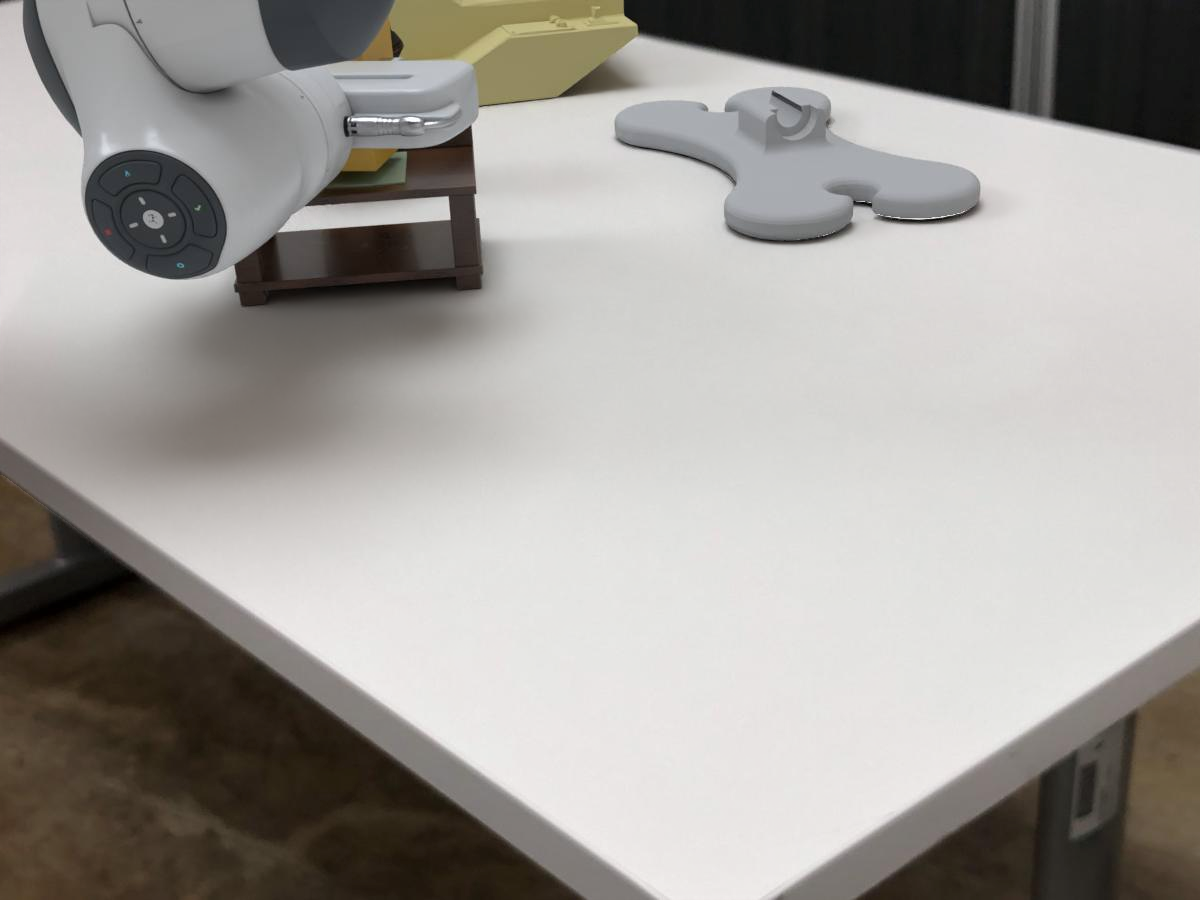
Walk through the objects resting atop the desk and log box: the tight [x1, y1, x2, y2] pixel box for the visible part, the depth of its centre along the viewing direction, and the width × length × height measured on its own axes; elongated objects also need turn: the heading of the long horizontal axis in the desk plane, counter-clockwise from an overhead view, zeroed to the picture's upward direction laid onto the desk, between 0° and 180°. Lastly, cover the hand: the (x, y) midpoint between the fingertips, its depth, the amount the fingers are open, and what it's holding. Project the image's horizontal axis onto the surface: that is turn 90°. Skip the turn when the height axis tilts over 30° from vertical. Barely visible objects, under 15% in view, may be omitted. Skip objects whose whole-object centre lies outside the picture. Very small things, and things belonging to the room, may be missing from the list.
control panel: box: [389, 0, 639, 107], centre depth 151 cm, size 24×16×20 cm
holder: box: [613, 86, 981, 241], centre depth 122 cm, size 19×34×5 cm, turn 18°
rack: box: [233, 124, 484, 307], centre depth 104 cm, size 16×10×9 cm, turn 95°
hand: (346, 70), depth 101 cm, fingers closed on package, 5 cm apart
